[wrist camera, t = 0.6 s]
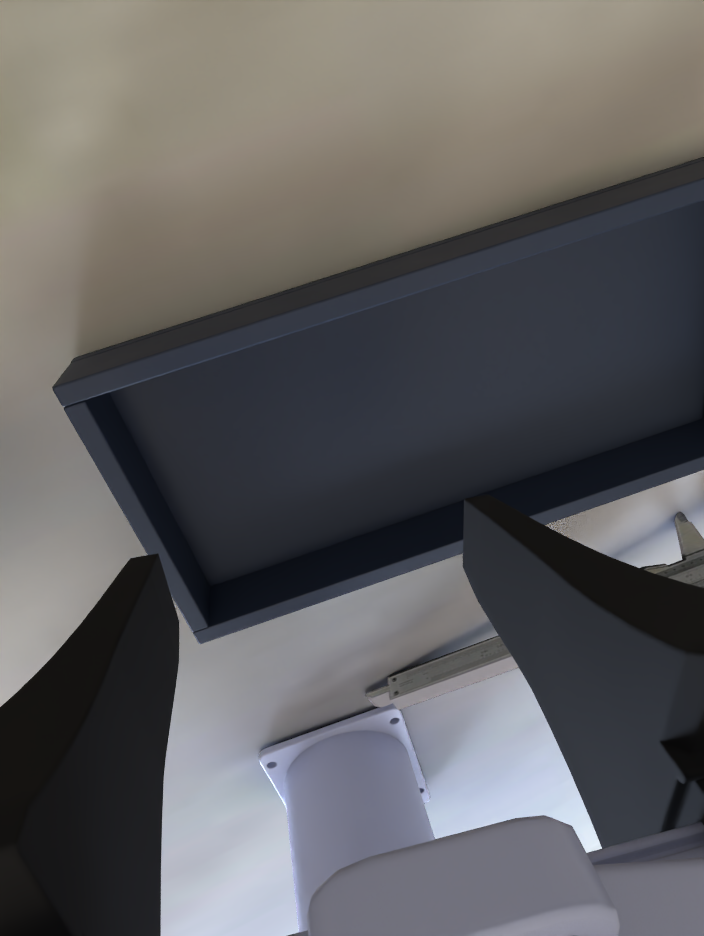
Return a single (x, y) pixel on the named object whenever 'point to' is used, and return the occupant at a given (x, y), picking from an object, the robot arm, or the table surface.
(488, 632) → the table surface
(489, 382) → the tool tray
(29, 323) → the table surface
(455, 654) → the caliper
